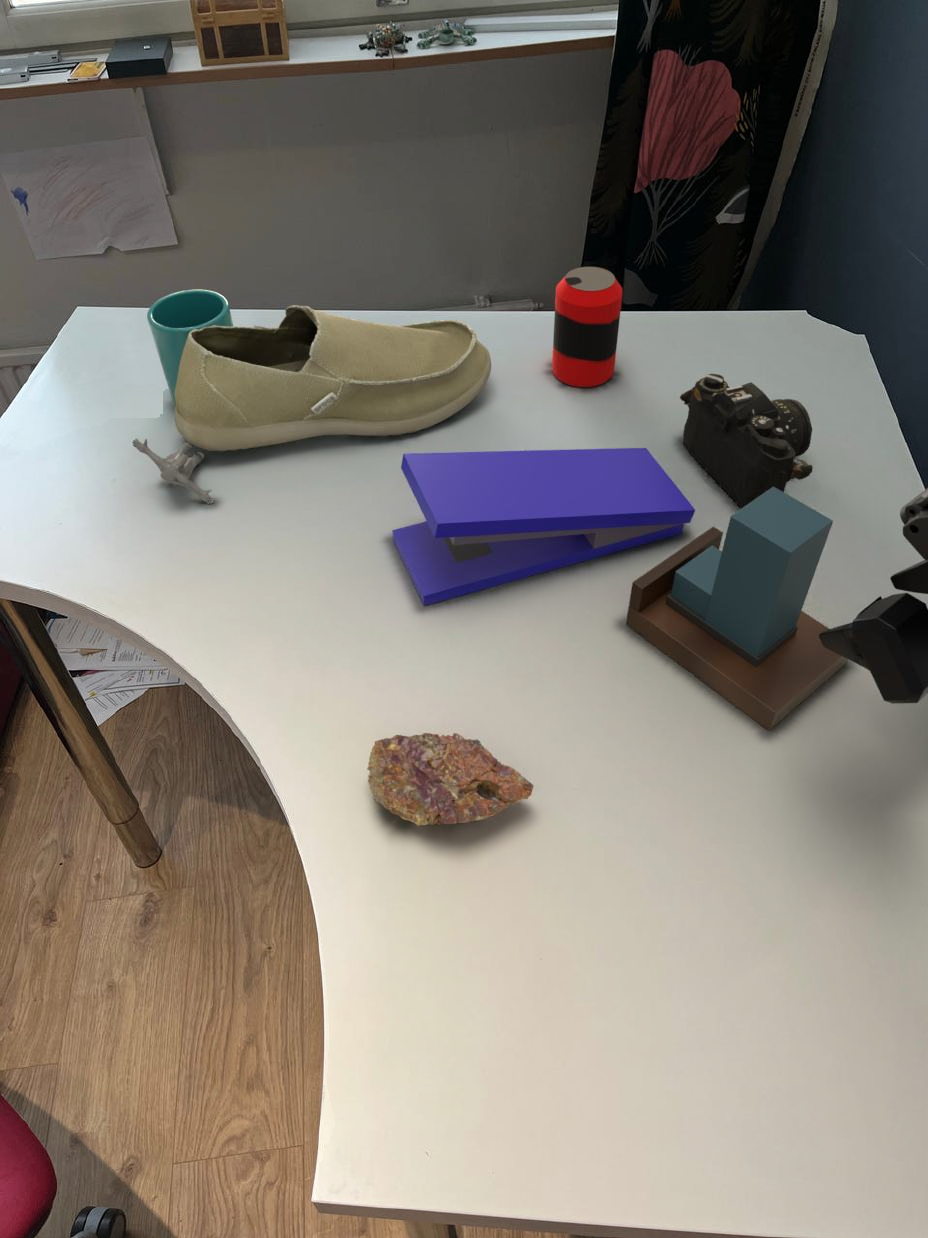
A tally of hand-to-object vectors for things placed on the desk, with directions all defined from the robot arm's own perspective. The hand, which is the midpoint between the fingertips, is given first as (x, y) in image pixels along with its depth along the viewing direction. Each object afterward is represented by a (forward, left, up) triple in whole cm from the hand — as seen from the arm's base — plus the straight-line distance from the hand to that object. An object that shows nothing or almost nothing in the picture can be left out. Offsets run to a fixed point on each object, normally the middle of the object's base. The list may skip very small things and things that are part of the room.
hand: (858, 610), depth 70 cm
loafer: (+54, -32, -11) cm, 63 cm away
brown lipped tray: (+7, -5, -12) cm, 15 cm away
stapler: (+27, -16, -12) cm, 33 cm away
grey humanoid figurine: (+66, -15, -12) cm, 69 cm away
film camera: (+7, -31, -12) cm, 34 cm away
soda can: (+27, -46, -12) cm, 55 cm away
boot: (+8, -6, -9) cm, 14 cm away
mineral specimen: (+28, +16, -12) cm, 34 cm away
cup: (+71, -34, -12) cm, 79 cm away
